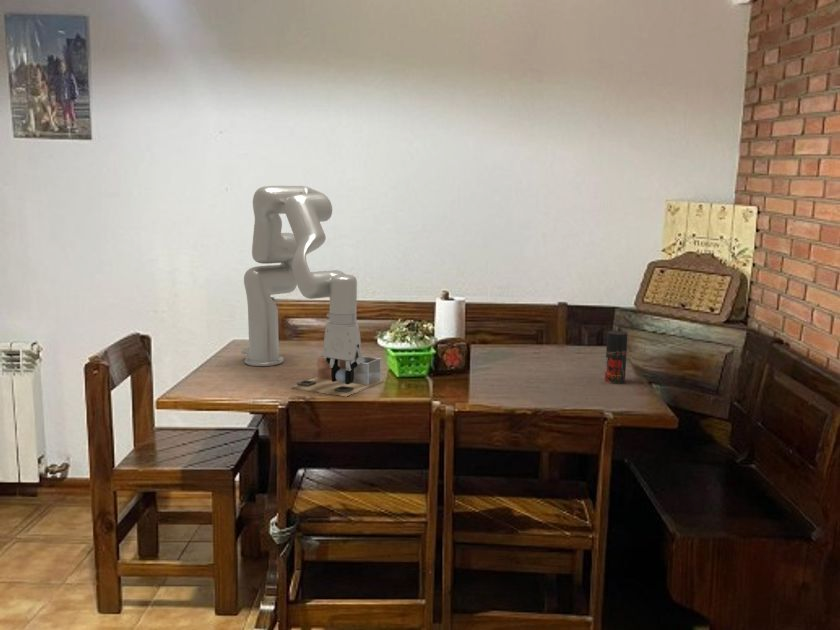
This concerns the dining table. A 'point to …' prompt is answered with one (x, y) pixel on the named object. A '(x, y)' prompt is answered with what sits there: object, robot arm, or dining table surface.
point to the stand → (363, 379)
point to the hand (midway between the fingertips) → (342, 381)
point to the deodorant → (616, 357)
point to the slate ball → (340, 376)
